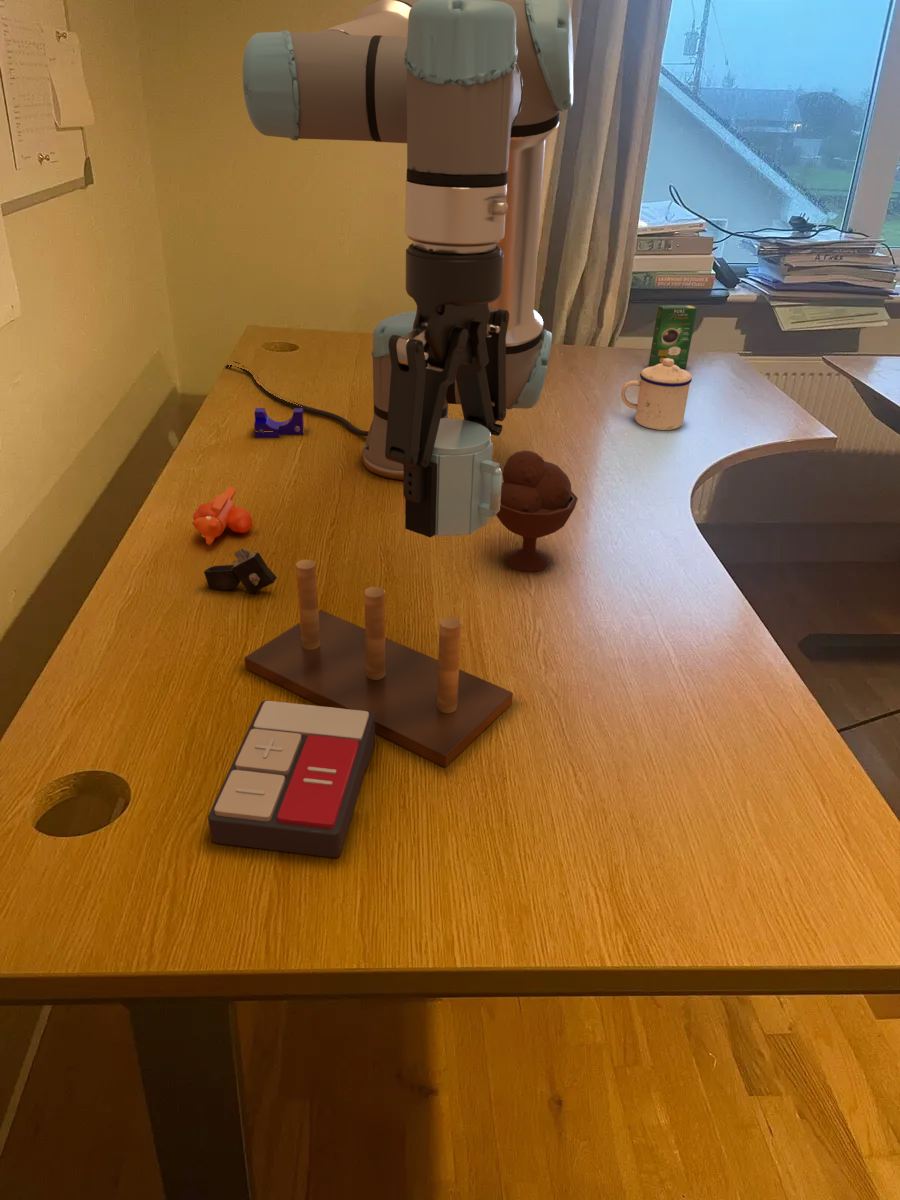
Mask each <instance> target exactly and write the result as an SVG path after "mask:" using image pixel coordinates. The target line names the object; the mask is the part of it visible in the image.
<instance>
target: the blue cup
mask: <svg viewBox="0 0 900 1200" xmlns="http://www.w3.org/2000/svg"><path fill="white" fill-rule="evenodd" d="M419 450H420V448H419ZM493 453H494V443H493V442H492V435H491V433H490V431H489V430H488V429H487V428H486V427H484V426H483V425H481V424H478V423H475V422H472V421H468V420H464V419H462V418H451V417H450V418H449V417H448V418H441V419H440V423H439V427H438V432H437V436H436V440H435V445H434V449H433V453H432V457H431V461H430V462H433V463H436V464H437V498H436V534H435V535H434V536H433V537H450V536H469V535H472V534H474V533H475V532H477V531H478V530H480V529H481V528H483V527H485V526H486V525H488V524H489V520H490V519H492V518H494V517H497V516H496V515H497V513H498V512H499V511H500V502H501V486H502V483H503V474H502V473H503V470H502V469H501V468H500V467H501V466H500V465H501V464H500V462H496V461H493ZM403 500H404V502H403V503H404V504H403V506H404V507H403V508H404V509H403V513H404V514H405V498H404V497H403Z"/></svg>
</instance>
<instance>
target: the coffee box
mask: <svg viewBox="0 0 900 1200" xmlns="http://www.w3.org/2000/svg"><path fill="white" fill-rule="evenodd" d="M697 312H698V308H697V307H696V306H694V305H691V304H690V305H685V304H684V305H679V304H678V305H675V304H674V305H671V304H669V305H663V304H661V305H659V304H658V306H657V312H656V319H655V324H654V330H653V335H652V342H651V348H650V354H649V358H648V359H649V361H648V367H651V366H655V365H657V364H660V363H662V361H663V359H665V358H670V359H673V360H674V365H676V366H678V367H679V368H680V369H687V365H688V360H689V353H690V349H691V344H692V338H693V332H694V328H695V322H696V317H697Z"/></svg>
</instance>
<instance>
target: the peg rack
mask: <svg viewBox="0 0 900 1200" xmlns="http://www.w3.org/2000/svg"><path fill="white" fill-rule="evenodd" d="M295 569H296V570H295V571H296V586H297V598H298V599H297V600H298V612H299V613H298V615H299V623H297V624H295V625H294V626H292V627H291V628H289V629H287V630H286V631H284V632H282V633H281V634H279V635H278V636H276V637H274V638H273V639H272V640H269V641H268V642H267V643H265V644H263V645H262V646H260V647H259V648H257V649H256V650H254V651H252V652H251V653H250V654H248V655H246V656H245V657H244V667H245V669H246V670H247V671H250V672H252V673H253V674H256V675H258V676H260V677H262V678H264V679H266V680H268V681H270V682H272V683H274V684H275V685H277V686H280V687H282V688H283V689H285V690H287V691H290V692H291V693H293V694H295V695H298V696H300V697H301V698H304V699H306V700H307V701H309V702H312V703H314V704H316V705H317V706H324V707H334V708H343V709H352V710H362V711H370V712H373V713H374V715H375V735H378V736H380V737H382V738H383V739H386V740H388V741H390V742H391V743H394V744H396V745H398V746H400V747H402V748H404V749H406V750H408V751H410V752H412V753H414V754H416V755H418V756H421V757H422V758H424V759H427V760H429V761H431V762H432V763H435V764H437V765H438V766H440V767H442V768H447V767H448V766H449V765H450V764H451V763H452V762H453V761H454V760H455V759H456V758H457V757H459V755H460V754H462V752H463V751H464V750H465V749H466V748H468V747H469V746H470V745H471V744H472V743H473V742H474V741H475V740H476V739H477V738H478V737H479V736H480V735H481V734H483V732H484V731H485V730H486V729H487V728H489V726H491V725H492V723H494V722H495V721H496V720H497V719H498V718H499V717H500V716H501V715H502V714H503V713H504V712H505V711H506V710H507V709H508V708H509V707H511V706H512V705H513V698H514V697H513V696H514V692H513V691H511V690H508V689H506V688H504V687H501V686H499V685H497V684H494V683H493V682H490V681H487V680H485V679H482V678H481V677H478V676H475V675H473V674H471V673H469V672H466V671H464V670H462V669H460V654H461V653H460V652H461V632H462V631H461V629H462V622H461V620H460V619H459V618H458V617H456V616H444V617H442V618H441V619H440V620H439V623H438V624H439V626H438V627H439V628H438V659H436V658H434V657H433V656H432V657H431V656H429V655H427V654H424V653H422V652H420V651H418V650H416V649H413V648H411V647H408V646H406V645H403V644H401V643H399V642H397V641H394V640H392V639H390V638H388V637H386V591H385V589H383V588H382V587H380V586H370V587H367V588H365V590H364V591H363V593H364V594H363V595H364V596H363V597H364V598H363V599H364V600H363V601H364V627H363V626H362V627H361V626H359V625H357V624H354V623H353V622H351V621H347V620H345V619H343V618H341V617H339V616H336V615H334V614H332V613H329V612H327V611H324V610H322V609H319V600H318V599H319V598H318V596H319V595H318V579H317V563H316V561H315V560H311V559H301V560H299V561H297V562H296V563H295Z"/></svg>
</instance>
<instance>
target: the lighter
mask: <svg viewBox="0 0 900 1200" xmlns="http://www.w3.org/2000/svg"><path fill="white" fill-rule="evenodd" d="M234 556H235V557H236V559H237V560H233V561H232V564H226V565H225V564H223V565H213V566H209V567H208V568H206V569H205V570H204V571H203V574H204V576H205V580H206V583H207V586H208V588H209V589H212V590H215V591H228V590H233V589H235V588H238V586H239V585H240V583H241V584H242V586H244V588H245V589H246V590H247V591H248V593H249V594H250V595H252V594H253V593H255V592H257V591H258V592H259V591H260V590H261V589H264V588H265V587H268V586H270V585H272V584H274V583H275V581H276V580H277V579H278V577H277V576H276V574H275V573H274V572H273V571H272V570H271V569H270V568H269V566H268V565H267V564H266V562H265V560H264V559H263V557H262V556H261V554H260V553H259V552H257V551H255V552H253V553H251V551H250V549H247V548H245V549H244V548H241V549H238V550H237V551H236V552H234Z"/></svg>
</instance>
